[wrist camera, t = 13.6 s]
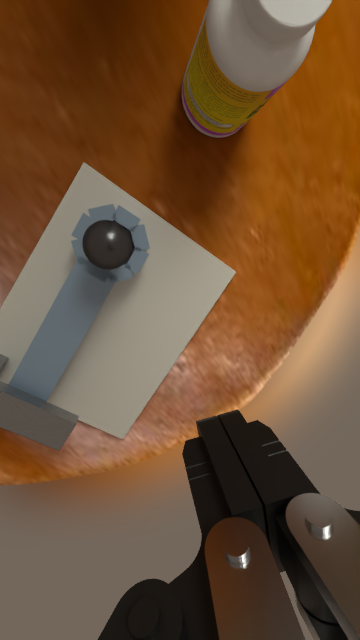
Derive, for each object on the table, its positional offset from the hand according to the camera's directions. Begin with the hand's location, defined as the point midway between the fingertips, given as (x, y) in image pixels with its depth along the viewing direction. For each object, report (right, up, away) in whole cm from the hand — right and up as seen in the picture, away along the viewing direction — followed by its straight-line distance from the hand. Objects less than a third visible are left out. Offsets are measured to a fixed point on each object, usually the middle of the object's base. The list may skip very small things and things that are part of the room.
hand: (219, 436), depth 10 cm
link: (-11, +5, +17) cm, 21 cm away
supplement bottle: (+2, +24, +16) cm, 29 cm away
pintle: (-8, +11, +17) cm, 22 cm away
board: (-9, +4, +19) cm, 21 cm away
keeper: (-17, -2, +19) cm, 26 cm away
